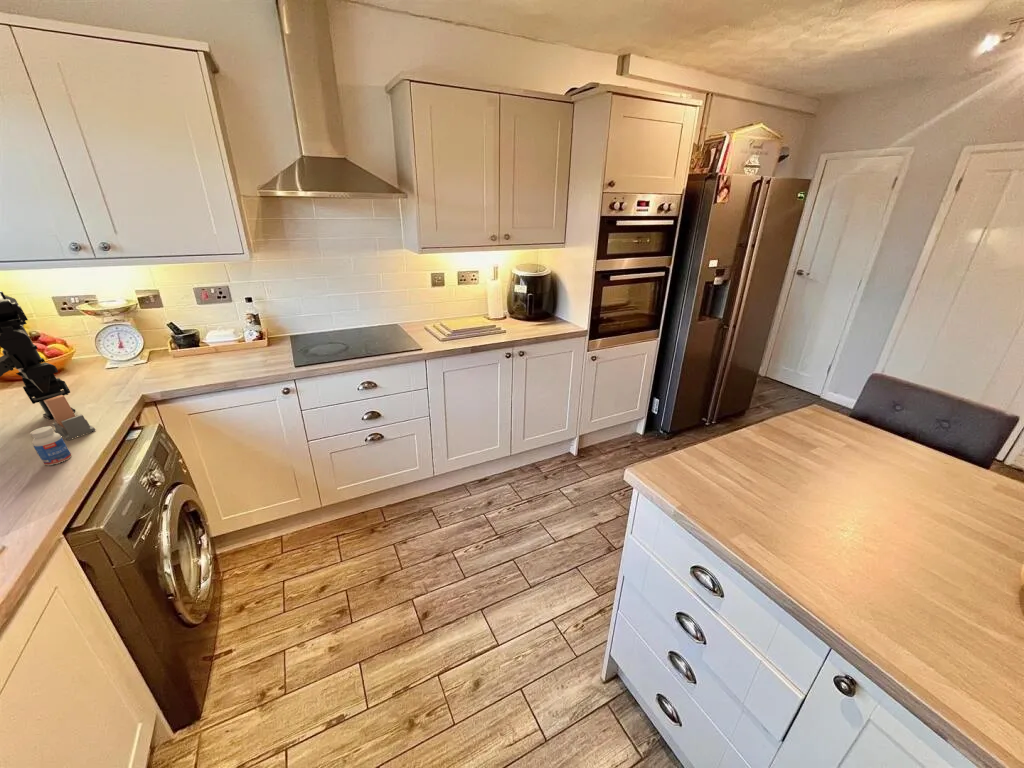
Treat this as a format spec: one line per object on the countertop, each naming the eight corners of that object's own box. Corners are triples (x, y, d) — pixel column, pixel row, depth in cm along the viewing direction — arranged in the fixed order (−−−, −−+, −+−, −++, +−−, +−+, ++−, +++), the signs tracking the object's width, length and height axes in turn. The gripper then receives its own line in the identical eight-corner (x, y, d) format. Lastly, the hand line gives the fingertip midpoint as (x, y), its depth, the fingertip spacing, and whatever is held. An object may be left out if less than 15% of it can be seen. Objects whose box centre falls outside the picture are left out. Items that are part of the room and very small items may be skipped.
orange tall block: (60, 428, 126) (43, 400, 122) (77, 422, 129) (61, 394, 125) (63, 430, 125) (46, 401, 121) (80, 424, 128) (64, 396, 124)
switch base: (55, 433, 126) (45, 416, 124) (82, 423, 131) (73, 407, 129) (68, 440, 122) (58, 423, 119) (95, 430, 127) (86, 413, 124)
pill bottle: (54, 467, 110) (35, 436, 106) (39, 465, 111) (19, 434, 107) (77, 455, 115) (60, 425, 111) (63, 453, 116) (45, 424, 112)
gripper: (-35, 348, 116) (-3, 397, 123) (-14, 358, 108) (18, 410, 114) (21, 337, 125) (47, 383, 131) (44, 345, 117) (71, 394, 123)
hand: (45, 392), depth 125 cm, fingers closed
